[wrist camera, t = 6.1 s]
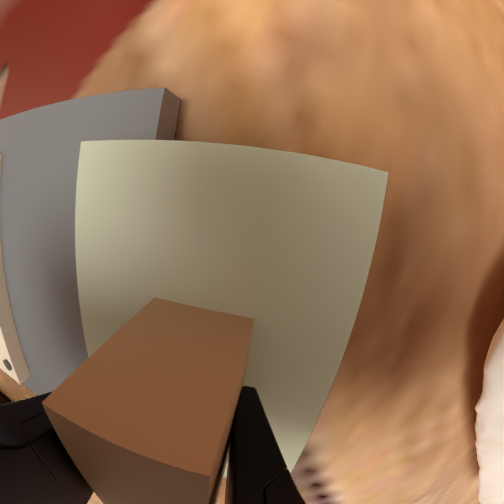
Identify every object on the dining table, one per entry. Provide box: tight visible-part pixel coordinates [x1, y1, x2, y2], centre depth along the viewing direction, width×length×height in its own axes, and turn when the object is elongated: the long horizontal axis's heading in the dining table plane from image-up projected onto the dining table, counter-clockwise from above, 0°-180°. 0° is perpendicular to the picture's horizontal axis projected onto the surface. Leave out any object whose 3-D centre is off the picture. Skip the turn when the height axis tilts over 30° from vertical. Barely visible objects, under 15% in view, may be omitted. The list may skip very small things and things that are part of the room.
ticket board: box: [0, 88, 181, 396], centre depth 11 cm, size 18×20×3 cm
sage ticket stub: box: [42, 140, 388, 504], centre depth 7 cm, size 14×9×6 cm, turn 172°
